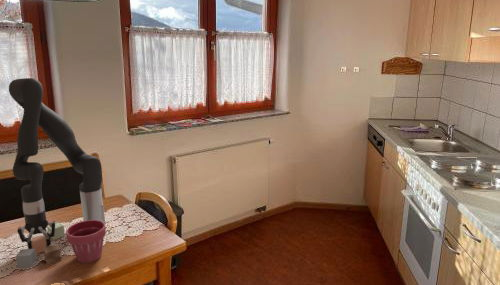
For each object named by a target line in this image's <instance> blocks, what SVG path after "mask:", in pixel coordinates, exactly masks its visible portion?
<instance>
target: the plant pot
mask: <svg viewBox="0 0 500 285" xmlns="http://www.w3.org/2000/svg"><path fill="white" fill-rule="evenodd" d="M106 229H107V228H106V223H105V224H104V223H103V222H102V221H99V220H86V221H83V220H82V221H79V222H76V223H74V224H72V225H70V226H69V227H67V229H66V231H65V236H66V241H67V243H68V244H70V246H71V249H72V251H73V254H74V256H75V258H76V261H77V262H79V263H83V264H87V263H88V264H89V263H92V262H95V261H97V260H98V259H100V258H101V256H102V252H103V246H104V239H105V238H104V237H106V234H107V230H106Z"/></svg>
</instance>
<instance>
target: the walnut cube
mask: <svg viewBox="0 0 500 285" xmlns="http://www.w3.org/2000/svg"><path fill="white" fill-rule="evenodd" d="M43 254H44V260H45V263H46V265H50V264H54V263H57V262H61V261H62V256H61V248H60V247H59V244H58V243H56V244H51V245H50V246H48V247H44V252H43Z"/></svg>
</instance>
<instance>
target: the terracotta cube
mask: <svg viewBox="0 0 500 285" xmlns="http://www.w3.org/2000/svg"><path fill="white" fill-rule="evenodd" d="M31 240H32V242H31V244H32V249H34V248H35V253H36V254H39V253H44V247H47V242H46V237H45V236H44V235H43V234H42V235H36V236H32V238H31Z"/></svg>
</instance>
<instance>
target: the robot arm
mask: <svg viewBox="0 0 500 285" xmlns="http://www.w3.org/2000/svg"><path fill="white" fill-rule="evenodd" d="M8 92H9V95H10V96H11V98H12V99H13V100H14V102H16V103H17V104H18V105H19V106H20V107H22V109H23V114H22V118H21V123H20V125H19V127H18V132H17V138H16V139H17V141H16V143H17V152H16V156H15V160H14V163H13V165H12V175H13V176H14V178H15V179H16V180H19V181H30V183H29V184H26V185H24V186H22V187H21V190H20V192H21V200H22V212H23V217H24V222H25V224H24V226H18V227H17V234H18V236H19V238H20V241H21V243H27V249H32V244H31V242H32V237H33V235H38V234H42V235H44V236H45V237H46V242H47V247H48V246H52V242H51V241H52V239H51V237H54V234H55V223H56V221H55V220H52V221H48V220H47V215H46V209H45V208H46V207H45V202H44V198H43V193H42V185H43V179H44V172H45V171H44V167H43V165H42V164H41V163H40V162H35V161H34V162H31V161H28V160H29V158H30V157H33V156H36V155H38V154H39V127H40V129H41V130H42V132H44V134H45V135H46V136H47V137H48V138H49V140H50V141H51V142H52V143H53V144H54V145H55V146H56V147H57V148H58V149H59V150H60V152H61V153H62V154H63V155H64V156H65V157H66V159H67V160H68V162H69V163H70V164H71V166H72V168H73V169H74V171H75V172H77V173H78V174H80V175H82V182H81V183H80V184H79V186H78V187H79V195H80V196H79V197H80V202H81V204H80V205H81V210H82V211H81V212H82V221H86V220H99V221H102V222H103V223H104V224H105V225H106V217H105V208H104V202H103V193H102V183H103V167H102V163H101V160H100V159H99V157H96V156H93V155H90V154H88V153H86V152H85V151H84V150H83V149H82V148H81V146H79V144H78V143H77V140H76V136H75V133H74V131H73V129H72V128H71V127H70V125H69V124H68V122H67V121H66V120H65V119H64V117H62V116H61V115H59V114H58V113H57V112H55V111H54V110H52V109H51V108H50V107H48V106H47V105H45V104H44V103H43V96H44V88H43V84H42V83H41V81H39V80H38V79H37V78H33V77H32V78H31V77H26V78H25V77H24V78H16V79H13V80H11V82H10V83H9V86H8ZM47 226H50V227H51V228H52V230H51V233H50V234H49V233H48V230H47ZM25 231H27V232H28V235H27V237H26V236H25V234H24V232H25Z"/></svg>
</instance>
